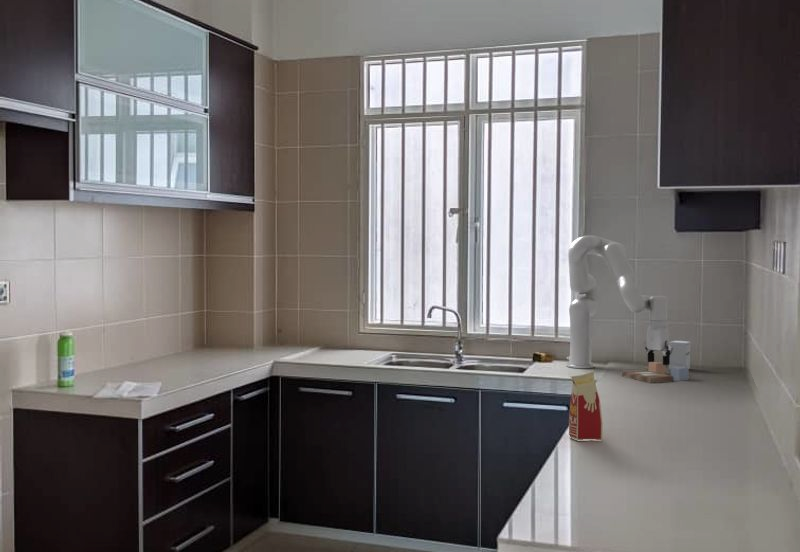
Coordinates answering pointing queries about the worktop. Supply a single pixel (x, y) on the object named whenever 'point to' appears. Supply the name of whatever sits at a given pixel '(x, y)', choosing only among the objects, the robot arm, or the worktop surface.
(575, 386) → the milk carton
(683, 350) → the supplement box
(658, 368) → the terracotta block
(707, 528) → the worktop surface
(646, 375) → the board
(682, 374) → the slate block
